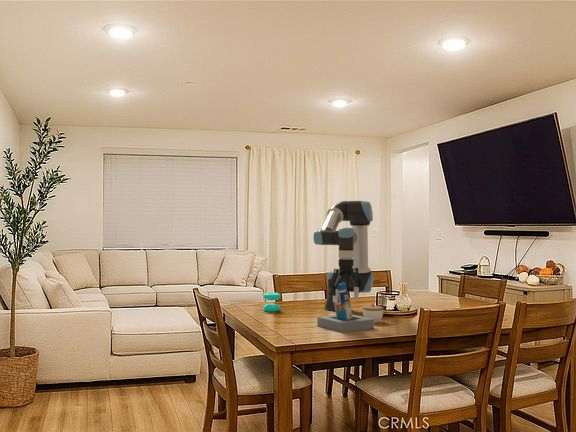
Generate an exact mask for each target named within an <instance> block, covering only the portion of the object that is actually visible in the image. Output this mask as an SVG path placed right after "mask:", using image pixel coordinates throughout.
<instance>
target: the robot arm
mask: <svg viewBox="0 0 576 432" xmlns="http://www.w3.org/2000/svg"><path fill="white" fill-rule="evenodd" d="M372 208H373V207H372V205H371V202H370V201H366V200H342V201H338V202H336V203H335V204H333V205H332V206H331V207H329V208H328V210H327V212H326V218H325V220H324V223H323V225H322V226H321V229H318V230H315V231H314V232H313V243H314V245H318V246H319V245H320V246H338V267H339V268H333V270H331V271H329V272H328V274H327V296H326V297H327V298H326V300H325V304H324V310H326V311H330V312H331V311H332V312H335V306H334V302H336V303H337V299H338V289H336V288H337V287H338V285H339V283H346V287H347V290H346V291H347V293H353V300H354V301H359V298H360V297H359V294H360V293H363V294H364V293H366V294H367V293H370V292H371V291H372V289H373V285H374V284H373V282H374V272H372V270H371V268H370V267H369V254H368V253H369V248H368V247H369V242H368V241H369V239H368V237H369V236H368V235H369V234H368V231H369V230H368V229H369V228H368V227H369V226H370V225H371V222H373V220H374V217H373V215H374V214H373V209H372ZM342 222H349V225H350V226H351V227H340V228H339V229H338V226H339V225H340V223H342ZM337 229H338V230H337Z"/></svg>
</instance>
